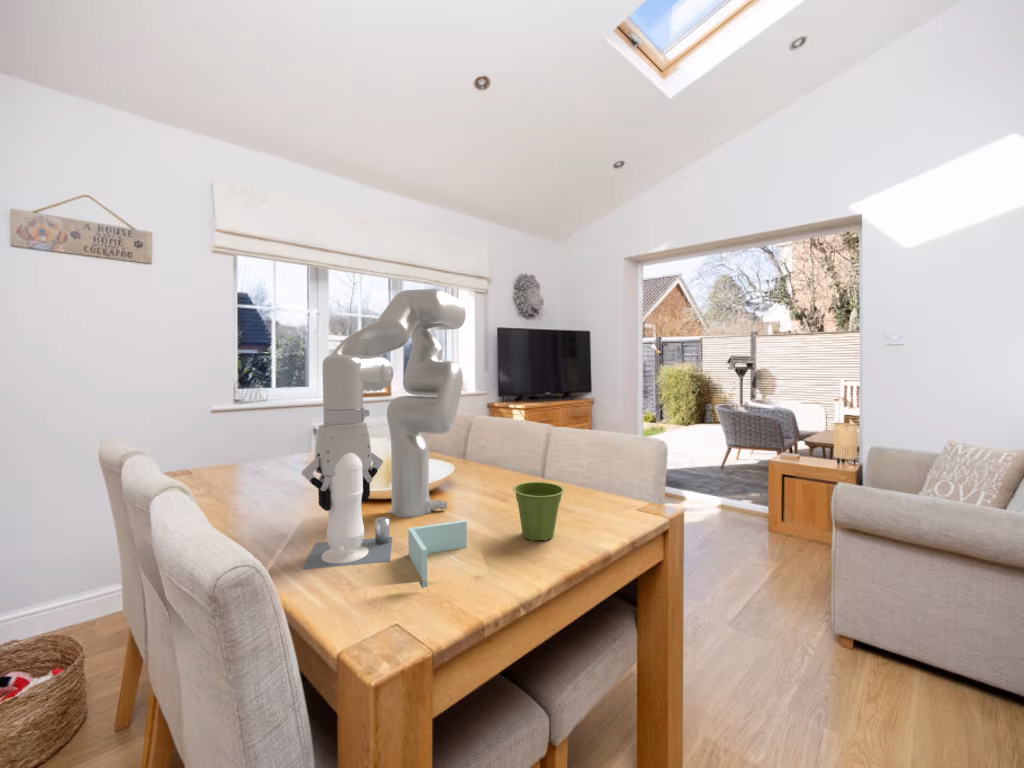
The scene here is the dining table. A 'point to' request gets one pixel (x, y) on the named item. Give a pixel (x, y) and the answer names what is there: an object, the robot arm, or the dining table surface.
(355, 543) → the water bottle
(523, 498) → the plant pot
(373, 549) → the board
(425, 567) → the right angle wall
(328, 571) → the dining table surface
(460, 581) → the dining table surface
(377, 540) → the metal post
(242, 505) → the dining table surface
